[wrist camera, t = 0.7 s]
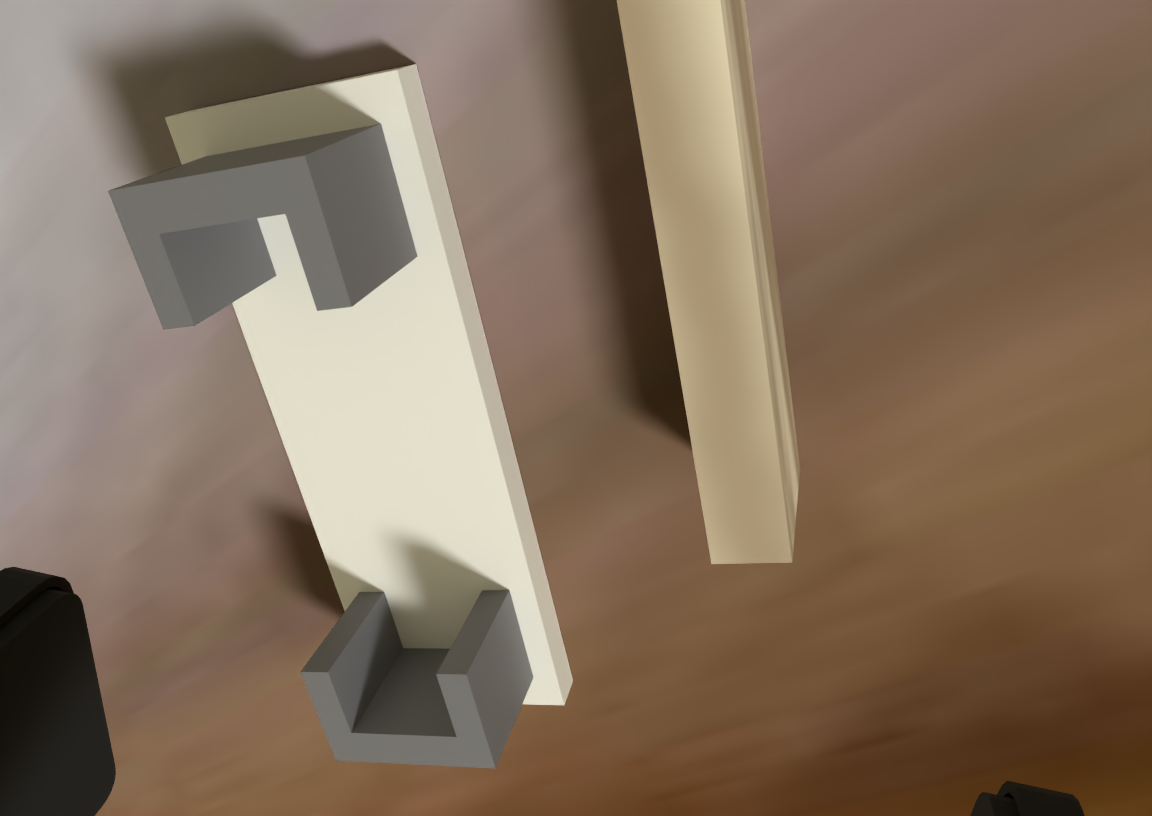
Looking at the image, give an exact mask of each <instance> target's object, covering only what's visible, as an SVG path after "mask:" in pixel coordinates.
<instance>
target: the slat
mask: <svg viewBox="0 0 1152 816" xmlns="http://www.w3.org/2000/svg"><path fill="white" fill-rule="evenodd" d="M617 6H618V12H619V18H620V24H621V29H622V35H623V41H624V47H625V53H626V59H627V65H628V71H629V77H630V83H631V89H632V95H633V101H634V106H635V112H636V118H637V124H638V130H639V136H640V142H641V148H642V154H643V160H644V166H645V172H646V178H647V184H648V189H649V195H650V201H651V207H652V213H653V219H654V225H655V231H656V237H657V243H658V249H659V255H660V261H661V267H662V272H663V278H664V284H665V290H666V296H667V302H668V308H669V314H670V320H671V326H672V332H673V338H674V344H675V349H676V355H677V361H678V367H679V373H680V379H681V385H682V391H683V397H684V403H685V409H686V415H687V421H688V427H689V432H690V438H691V444H692V450H693V456H694V462H695V468H696V474H697V480H698V486H699V492H700V498H701V504H702V509H703V515H704V521H705V527H706V533H707V539H708V545H709V551H710V557H711V563H712V564H738V563H784V562H792V558H793V546H794V534H795V522H796V510H797V499H798V487H799V475H800V465H799V457H798V448H797V440H796V431H795V423H794V414H793V406H792V397H791V389H790V381H789V372H788V364H787V355H786V347H785V338H784V330H783V321H782V313H781V304H780V296H779V287H778V279H777V270H776V262H775V253H774V245H773V237H772V228H771V220H770V211H769V203H768V194H767V186H766V177H765V169H764V160H763V152H762V143H761V135H760V126H759V118H758V109H757V101H756V93H755V84H754V76H753V67H752V59H751V50H750V42H749V33H748V25H747V16H746V8H745V0H617Z"/></svg>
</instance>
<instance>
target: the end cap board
mask: <svg viewBox="0 0 1152 816" xmlns="http://www.w3.org/2000/svg"><path fill="white" fill-rule="evenodd" d="M165 120H166V123H167V125H168V128H169V131H170V133H171V136H172V139H173V142H174V144H175V147H176V150H177V153H178V155H179V158H180V161H181V164H182V165H180V166H177V167H174V168H171V169H169V170H166V171H163V172H160V173H157V174H154V175H152V176H149V177H146V178H143V179H140V180H137V181H135V182H132V183H129V184H126V185H123V186H121V187H118V188H115V189H112V190H109V191H108V192H109V194H110V197H111V199H112V202H113V204H114V207H115V209H116V212H117V214H118V217H119V219H120V222H121V224H122V227H123V229H124V232H125V234H126V237H127V239H128V242H129V244H130V247H131V249H132V252H133V254H134V257H135V259H136V262H137V264H138V267H139V269H140V272H141V274H142V277H143V279H144V282H145V284H146V287H147V289H148V292H149V294H150V297H151V299H152V302H153V304H154V307H155V309H156V312H157V314H158V317H159V319H160V322H161V324H162V327H163V329H172V328H180V327H188V326H195V325H196V324H198V323H200V322H201V321H203V320H205V319H206V318H208V317H210V316H211V315H213V314H215V313H216V312H218V311H219V310H221V309H223V308H224V307H226V306H228V305H229V304H231V303H232V304H233V306H234V309H235V312H236V315H237V317H238V320H239V323H240V326H241V328H242V331H243V334H244V337H245V339H246V342H247V345H248V348H249V350H250V353H251V356H252V359H253V361H254V364H255V367H256V370H257V372H258V375H259V378H260V380H261V383H262V386H263V389H264V391H265V394H266V397H267V400H268V402H269V405H270V408H271V411H272V413H273V416H274V419H275V422H276V424H277V427H278V430H279V433H280V435H281V438H282V441H283V444H284V446H285V449H286V452H287V455H288V457H289V460H290V463H291V466H292V468H293V471H294V474H295V477H296V479H297V482H298V485H299V488H300V490H301V493H302V496H303V498H304V501H305V504H306V507H307V509H308V512H309V515H310V518H311V520H312V523H313V526H314V529H315V531H316V534H317V537H318V540H319V542H320V545H321V548H322V551H323V553H324V556H325V559H326V562H327V564H328V567H329V570H330V573H331V575H332V578H333V581H334V584H335V586H336V589H337V592H338V595H339V597H340V600H341V603H342V606H343V608H344V611H345V612H344V613H343V615H342V616H341V618H340V619H339V620H338V622H337V623H336V624H335V626H334V627H333V628H332V630H331V631H330V632H329V634H328V635H327V637H326V638H325V639H324V641H323V642H322V643H321V645H320V646H319V647H318V649H317V650H316V652H315V653H314V654H313V656H312V657H311V658H310V660H309V661H308V662H307V664H306V665H305V667H304V668H303V669H302V671H301V674H302V677H303V679H304V682H305V684H306V687H307V689H308V692H309V694H310V697H311V699H312V702H313V704H314V707H315V709H316V712H317V714H318V717H319V719H320V722H321V724H322V727H323V729H324V732H325V734H326V737H327V739H328V742H329V744H330V747H331V749H332V752H333V754H334V757H335V759H336V761H356V762H377V763H397V764H418V765H438V766H458V767H479V768H496V766H497V764H498V761H499V759H500V756H501V754H502V752H503V749H504V747H505V744H506V742H507V740H508V737H509V735H510V732H511V730H512V728H513V725H514V723H515V721H516V718H517V716H518V713H519V711H520V709H521V706H522V704H535V705H565V702H566V699H567V696H568V694H569V691H570V688H571V685H572V682H573V679H572V675H571V671H570V667H569V663H568V659H567V655H566V651H565V647H564V643H563V640H562V636H561V632H560V628H559V624H558V620H557V616H556V612H555V608H554V604H553V600H552V596H551V592H550V588H549V585H548V581H547V577H546V573H545V569H544V565H543V561H542V557H541V553H540V549H539V545H538V541H537V537H536V533H535V530H534V526H533V522H532V518H531V514H530V510H529V506H528V502H527V498H526V494H525V490H524V486H523V482H522V478H521V475H520V471H519V467H518V463H517V459H516V455H515V451H514V447H513V443H512V439H511V435H510V431H509V427H508V423H507V420H506V416H505V412H504V408H503V404H502V400H501V396H500V392H499V388H498V384H497V380H496V376H495V372H494V368H493V365H492V361H491V357H490V353H489V349H488V345H487V341H486V337H485V333H484V329H483V325H482V321H481V317H480V313H479V310H478V306H477V302H476V298H475V294H474V290H473V286H472V282H471V278H470V274H469V270H468V266H467V262H466V259H465V255H464V251H463V247H462V243H461V239H460V235H459V231H458V227H457V223H456V219H455V215H454V211H453V207H452V204H451V200H450V196H449V192H448V188H447V184H446V180H445V176H444V172H443V168H442V164H441V160H440V156H439V152H438V149H437V145H436V141H435V137H434V133H433V129H432V125H431V121H430V117H429V113H428V109H427V105H426V101H425V97H424V94H423V90H422V86H421V82H420V78H419V74H418V70H417V66H416V64H413V65H408V66H404V67H399V68H394V69H389V70H384V71H379V72H374V73H370V74H365V75H360V76H355V77H350V78H345V79H340V80H336V81H331V82H326V83H321V84H316V85H311V86H306V87H302V88H297V89H292V90H287V91H282V92H277V93H273V94H268V95H263V96H258V97H253V98H248V99H243V100H239V101H234V102H229V103H224V104H219V105H214V106H209V107H205V108H200V109H195V110H190V111H187V112H183V113H179V114H176V115H172V116H168V117H165Z"/></svg>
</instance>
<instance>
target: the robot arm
mask: <svg viewBox="0 0 1152 816" xmlns="http://www.w3.org/2000/svg"><path fill="white" fill-rule="evenodd" d="M115 775H116V771H115V763H114V758H113V753H112V748H111V743H110V738H109V733H108V728H107V723H106V718H105V713H104V708H103V703H102V698H101V693H100V688H99V683H98V678H97V673H96V668H95V663H94V658H93V653H92V648H91V643H90V638H89V633H88V628H87V623H86V619H85V614H84V609H83V604H82V602H81V599H80V598H79V597H78V596H77V595H76V594H74V593H73V590H72V587H71V585H70V583H69V582H68V581H67V580H66V579H65V578H62V577H58V576H54V575H49V574H44V573H40V572H35V571H31V570H26V569H21V568H17V567H10V568H5V569H3V570H1V571H0V816H95V814H96V813H97V812H98V811H99V810H100V808H101V807H102V806H103V804H104V803H105V801H106V800H107V798H108V796H109V794H110V792H111V790H112V787H113V784H114V781H115ZM971 816H1084V813H1083V810H1082V808H1081V806H1080V803H1079V801H1078V800H1077V799H1076V798H1075V797H1074V796H1073V795H1071V794H1067V793H1062V792H1057V791H1053V790H1048V789H1043V788H1039V787H1034V786H1029V785H1025V784H1020V783H1015V782H1010V781H1007V782H1005V783H1004V784H1003V785H1002V786H1001V788H1000V790H999V792H998V794H997V795H994V794H990V793H985V792H982V793H981V794H980V795H979V797H978V799H977V801H976V803H975V806H974V808H973V811H972V813H971Z"/></svg>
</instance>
